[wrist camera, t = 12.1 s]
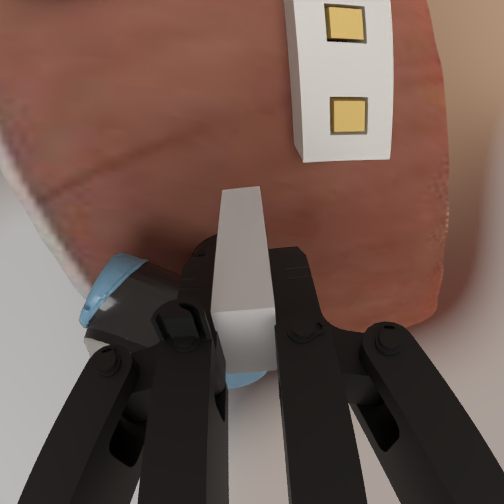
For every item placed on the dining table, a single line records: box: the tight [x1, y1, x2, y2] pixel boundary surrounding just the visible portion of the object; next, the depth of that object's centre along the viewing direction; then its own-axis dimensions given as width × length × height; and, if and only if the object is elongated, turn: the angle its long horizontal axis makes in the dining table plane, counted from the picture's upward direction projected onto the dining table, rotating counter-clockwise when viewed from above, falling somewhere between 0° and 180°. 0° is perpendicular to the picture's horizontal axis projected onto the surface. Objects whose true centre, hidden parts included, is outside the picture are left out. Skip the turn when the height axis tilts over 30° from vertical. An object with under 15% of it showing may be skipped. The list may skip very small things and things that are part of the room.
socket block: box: [283, 0, 393, 163], centre depth 35 cm, size 24×12×8 cm, turn 5°
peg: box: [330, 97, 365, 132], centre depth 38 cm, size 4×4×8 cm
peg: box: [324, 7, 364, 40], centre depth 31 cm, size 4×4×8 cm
